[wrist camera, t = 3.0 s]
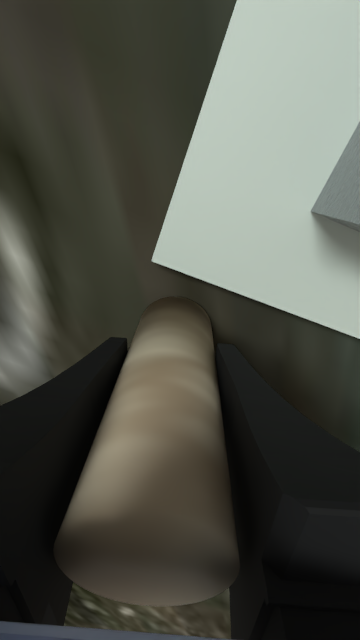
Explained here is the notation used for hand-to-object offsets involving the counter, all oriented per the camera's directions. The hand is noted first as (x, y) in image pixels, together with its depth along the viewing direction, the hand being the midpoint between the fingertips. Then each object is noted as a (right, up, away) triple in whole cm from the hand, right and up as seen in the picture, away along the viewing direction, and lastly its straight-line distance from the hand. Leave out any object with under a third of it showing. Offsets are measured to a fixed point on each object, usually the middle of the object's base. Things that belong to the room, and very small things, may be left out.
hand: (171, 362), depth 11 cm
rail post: (0, +1, +2) cm, 3 cm away
